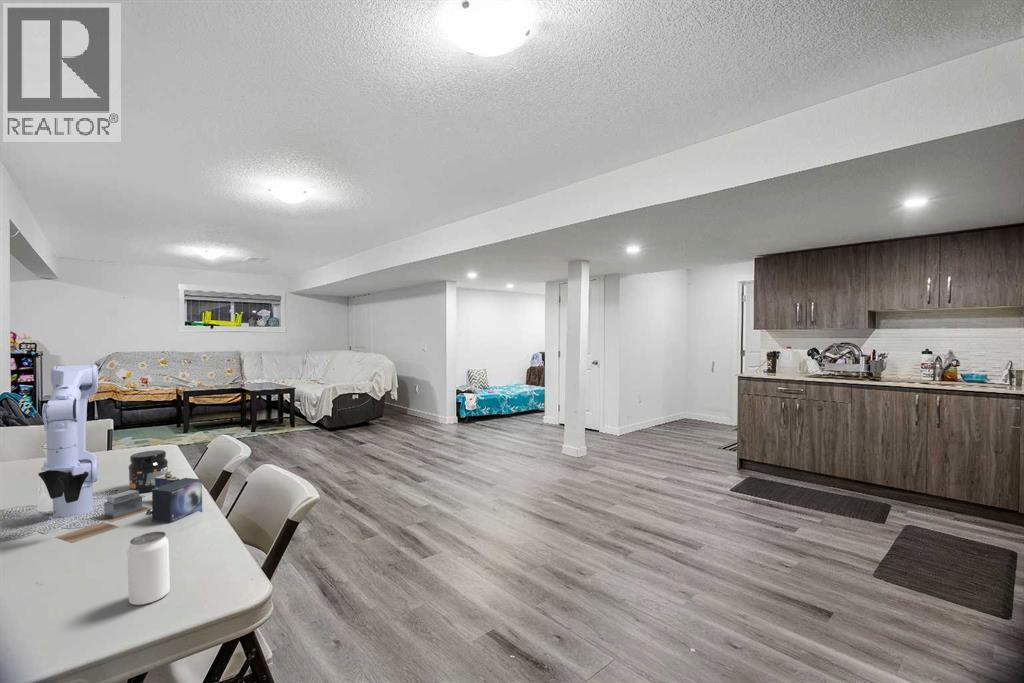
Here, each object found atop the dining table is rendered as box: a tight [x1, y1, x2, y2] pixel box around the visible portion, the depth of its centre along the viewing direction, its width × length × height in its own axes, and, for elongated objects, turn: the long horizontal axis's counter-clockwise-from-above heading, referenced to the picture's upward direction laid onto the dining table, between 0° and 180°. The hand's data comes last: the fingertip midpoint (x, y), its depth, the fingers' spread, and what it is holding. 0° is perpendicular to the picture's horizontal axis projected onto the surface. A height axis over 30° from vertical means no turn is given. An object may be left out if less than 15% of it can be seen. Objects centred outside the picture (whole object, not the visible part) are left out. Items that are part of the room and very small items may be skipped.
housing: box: [103, 490, 143, 519], centre depth 132 cm, size 4×7×6 cm, turn 156°
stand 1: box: [54, 521, 120, 544], centre depth 119 cm, size 8×10×2 cm
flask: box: [154, 470, 180, 488], centre depth 141 cm, size 9×3×11 cm, turn 71°
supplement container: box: [128, 449, 169, 494], centre depth 157 cm, size 10×10×12 cm
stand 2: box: [95, 505, 152, 523], centre depth 132 cm, size 8×10×2 cm
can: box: [127, 531, 171, 606], centre depth 92 cm, size 6×6×12 cm
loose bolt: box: [145, 508, 152, 516], centre depth 132 cm, size 6×3×3 cm, turn 86°
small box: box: [151, 477, 203, 524], centre depth 130 cm, size 11×6×10 cm, turn 168°
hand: (64, 499), depth 118 cm, fingers open, 7 cm apart
